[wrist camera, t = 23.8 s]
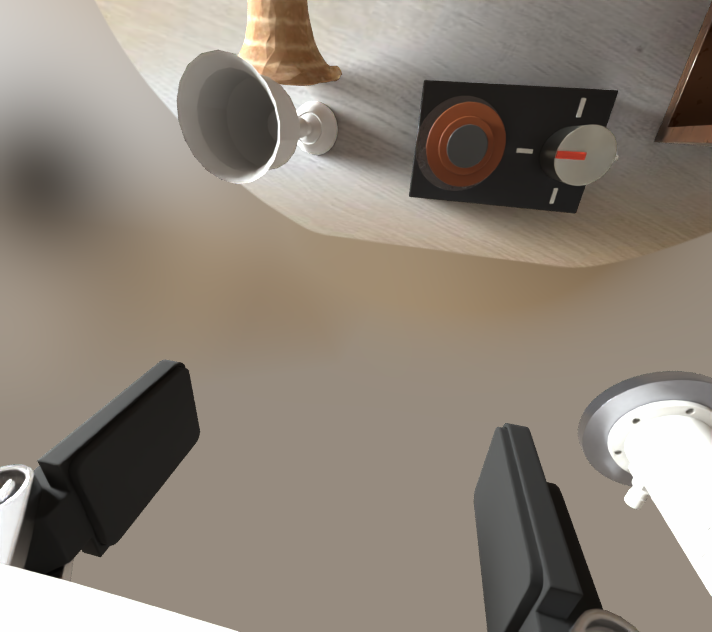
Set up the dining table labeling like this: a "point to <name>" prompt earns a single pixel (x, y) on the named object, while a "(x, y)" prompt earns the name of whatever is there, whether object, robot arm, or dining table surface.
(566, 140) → the stove knob
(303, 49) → the jug
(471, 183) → the bottle
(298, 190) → the dining table surface
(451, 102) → the burner
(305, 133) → the chalice
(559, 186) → the stove
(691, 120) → the shelf
